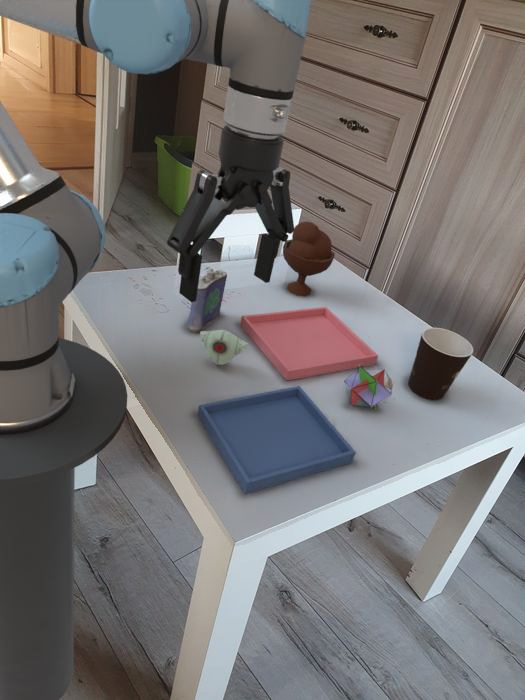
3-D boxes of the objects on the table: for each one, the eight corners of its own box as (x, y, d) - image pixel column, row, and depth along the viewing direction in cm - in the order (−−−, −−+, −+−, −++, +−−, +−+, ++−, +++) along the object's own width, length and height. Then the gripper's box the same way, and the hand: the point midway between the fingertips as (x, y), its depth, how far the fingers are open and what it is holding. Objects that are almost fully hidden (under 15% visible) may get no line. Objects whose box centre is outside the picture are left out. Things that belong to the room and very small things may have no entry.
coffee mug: (427, 409, 91) (450, 361, 85) (392, 378, 96) (411, 331, 91) (471, 395, 97) (495, 349, 92) (435, 367, 103) (456, 322, 97)
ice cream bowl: (288, 304, 112) (305, 236, 104) (266, 278, 120) (280, 213, 112) (332, 302, 116) (351, 236, 108) (307, 276, 124) (324, 214, 116)
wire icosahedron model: (355, 413, 83) (391, 374, 82) (327, 386, 87) (361, 348, 86) (373, 425, 88) (407, 388, 87) (346, 399, 92) (379, 364, 91)
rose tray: (286, 380, 90) (288, 371, 89) (240, 324, 101) (241, 315, 100) (375, 364, 99) (378, 355, 98) (323, 315, 111) (326, 306, 110)
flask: (196, 334, 96) (204, 280, 90) (182, 328, 97) (189, 274, 91) (222, 315, 103) (231, 263, 97) (209, 309, 104) (217, 258, 98)
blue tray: (244, 493, 68) (247, 483, 67) (197, 415, 79) (199, 404, 78) (352, 462, 77) (356, 452, 76) (296, 395, 87) (299, 385, 86)
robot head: (244, 364, 91) (251, 330, 88) (239, 378, 88) (246, 343, 84) (197, 352, 91) (203, 318, 88) (191, 366, 88) (196, 331, 84)
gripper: (188, 142, 55) (168, 320, 67) (342, 138, 71) (305, 282, 83) (146, 120, 59) (134, 292, 71) (302, 121, 75) (271, 261, 87)
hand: (226, 287), depth 77 cm, fingers open, 13 cm apart
